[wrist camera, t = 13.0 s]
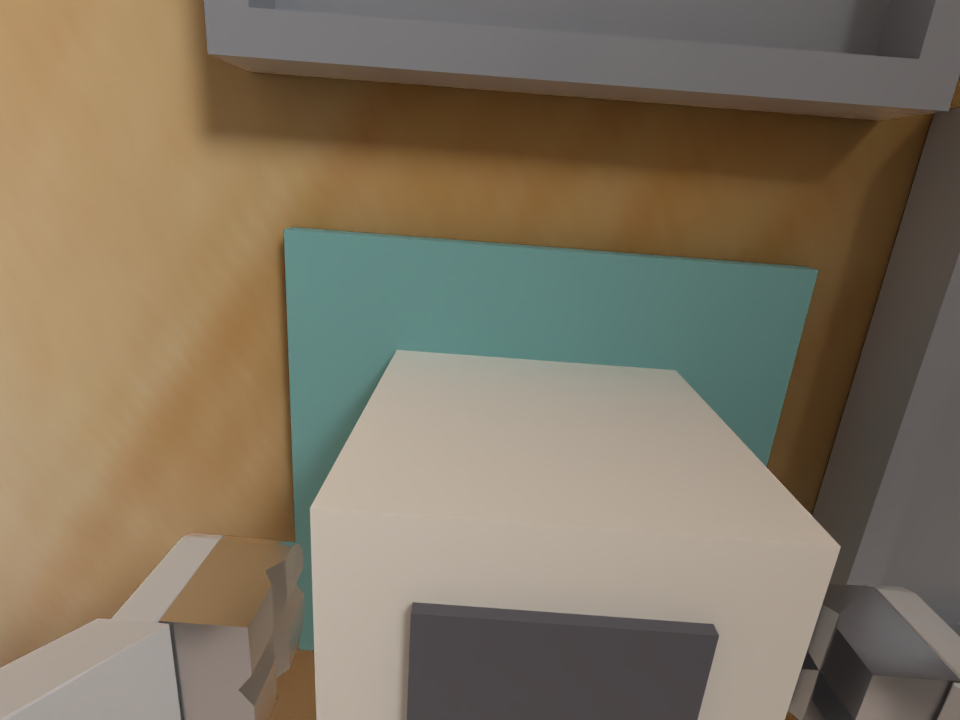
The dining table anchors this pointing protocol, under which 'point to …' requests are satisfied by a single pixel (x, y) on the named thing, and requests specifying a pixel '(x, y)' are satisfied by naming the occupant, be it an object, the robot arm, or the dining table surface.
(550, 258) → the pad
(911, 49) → the dish
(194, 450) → the dining table surface
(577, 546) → the white cube
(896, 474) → the dish
